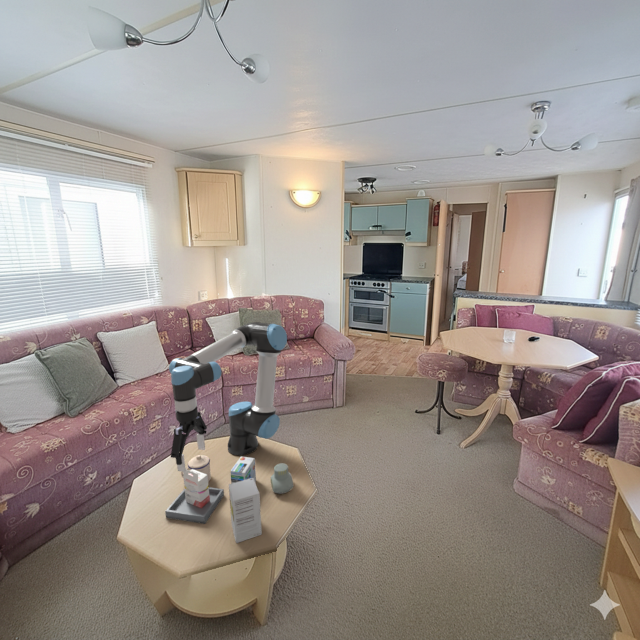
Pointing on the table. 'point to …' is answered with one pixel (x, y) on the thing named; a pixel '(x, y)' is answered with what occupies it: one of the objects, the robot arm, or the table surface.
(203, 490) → the ink cartridge box
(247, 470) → the light bulb box
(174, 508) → the tray
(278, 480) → the air freshener
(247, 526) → the supplement box
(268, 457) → the table surface
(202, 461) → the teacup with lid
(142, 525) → the table surface
